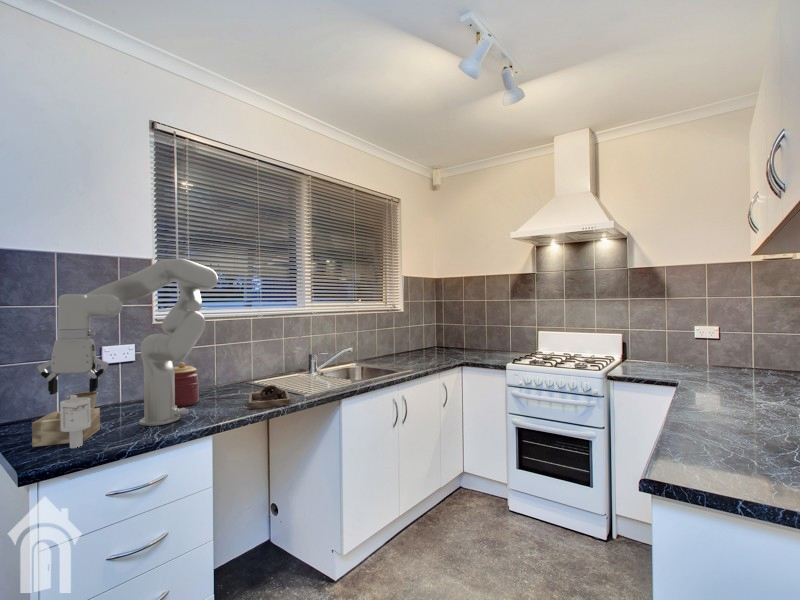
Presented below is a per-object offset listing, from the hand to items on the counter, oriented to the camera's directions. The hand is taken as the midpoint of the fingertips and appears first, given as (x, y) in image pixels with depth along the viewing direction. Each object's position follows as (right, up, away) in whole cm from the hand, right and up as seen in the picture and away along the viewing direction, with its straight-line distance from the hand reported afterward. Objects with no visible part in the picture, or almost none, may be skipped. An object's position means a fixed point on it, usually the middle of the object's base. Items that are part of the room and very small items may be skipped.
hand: (73, 392), depth 120 cm
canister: (+5, -17, +51) cm, 54 cm away
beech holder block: (-9, -17, +9) cm, 21 cm away
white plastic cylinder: (0, -17, 0) cm, 17 cm away
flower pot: (-22, -17, +32) cm, 42 cm away
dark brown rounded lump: (+43, -16, +51) cm, 69 cm away
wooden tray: (+42, -16, +51) cm, 68 cm away
